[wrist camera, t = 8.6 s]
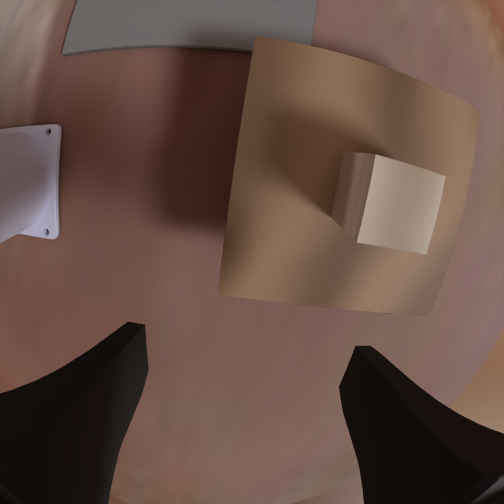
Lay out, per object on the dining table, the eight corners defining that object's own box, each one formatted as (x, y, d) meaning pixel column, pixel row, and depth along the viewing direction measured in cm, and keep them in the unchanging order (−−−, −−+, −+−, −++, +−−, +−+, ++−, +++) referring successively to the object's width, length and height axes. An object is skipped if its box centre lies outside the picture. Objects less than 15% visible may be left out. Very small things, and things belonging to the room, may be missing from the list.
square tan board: (219, 286, 15) (208, 338, 11) (255, 41, 11) (257, 0, 7) (422, 308, 16) (459, 351, 12) (471, 110, 12) (525, 109, 8)
